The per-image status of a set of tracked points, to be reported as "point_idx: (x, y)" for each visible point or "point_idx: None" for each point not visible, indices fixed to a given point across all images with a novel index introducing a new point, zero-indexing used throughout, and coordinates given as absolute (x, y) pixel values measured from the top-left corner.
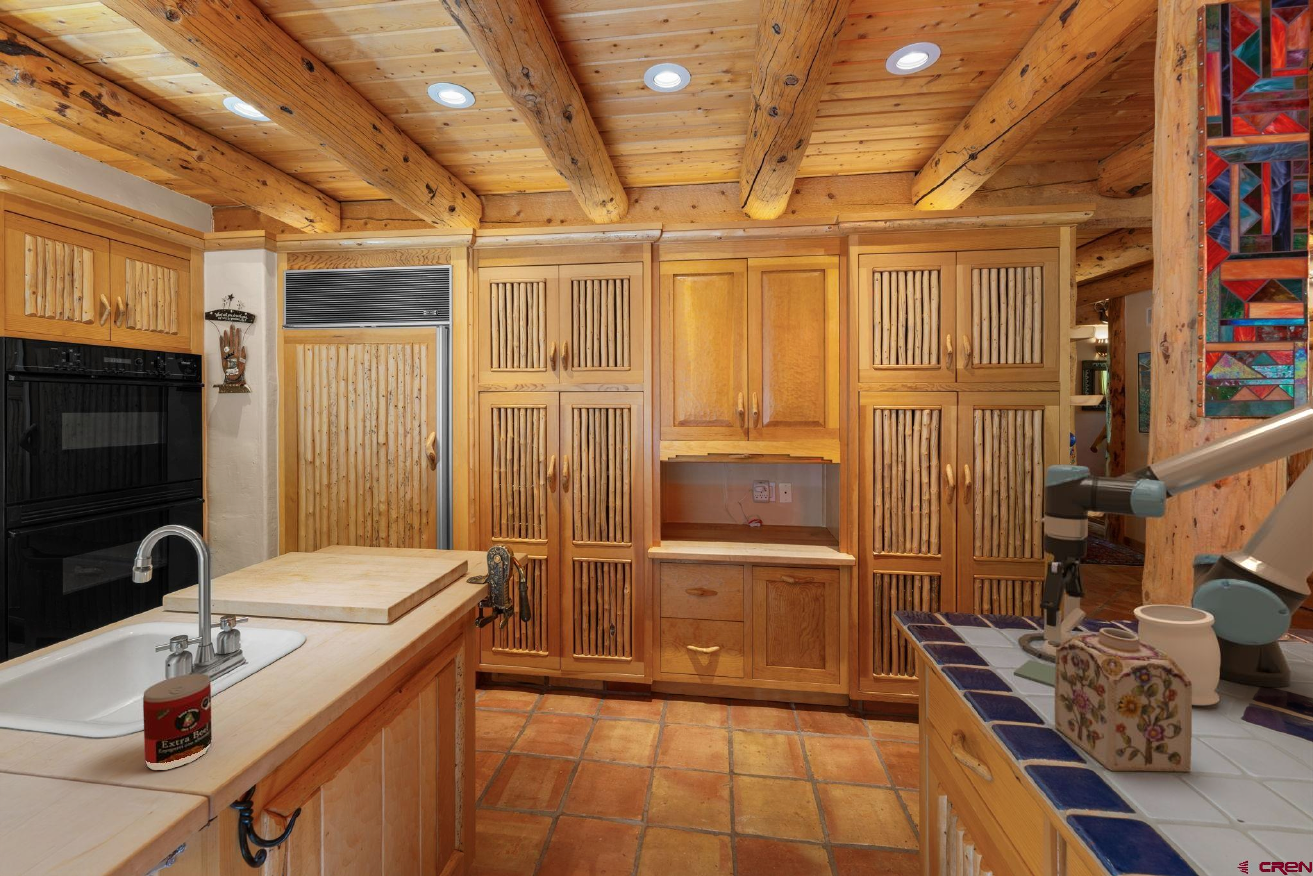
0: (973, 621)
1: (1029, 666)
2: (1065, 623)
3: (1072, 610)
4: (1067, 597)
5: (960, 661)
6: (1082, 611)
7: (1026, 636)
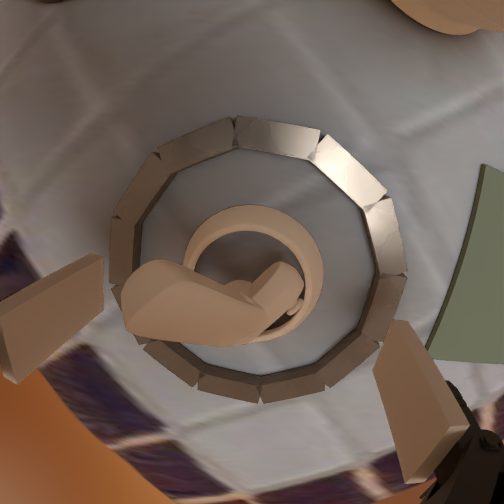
0: (163, 462)
1: (474, 348)
2: (232, 333)
3: (57, 311)
4: (18, 367)
5: None
6: (174, 292)
7: (216, 385)
